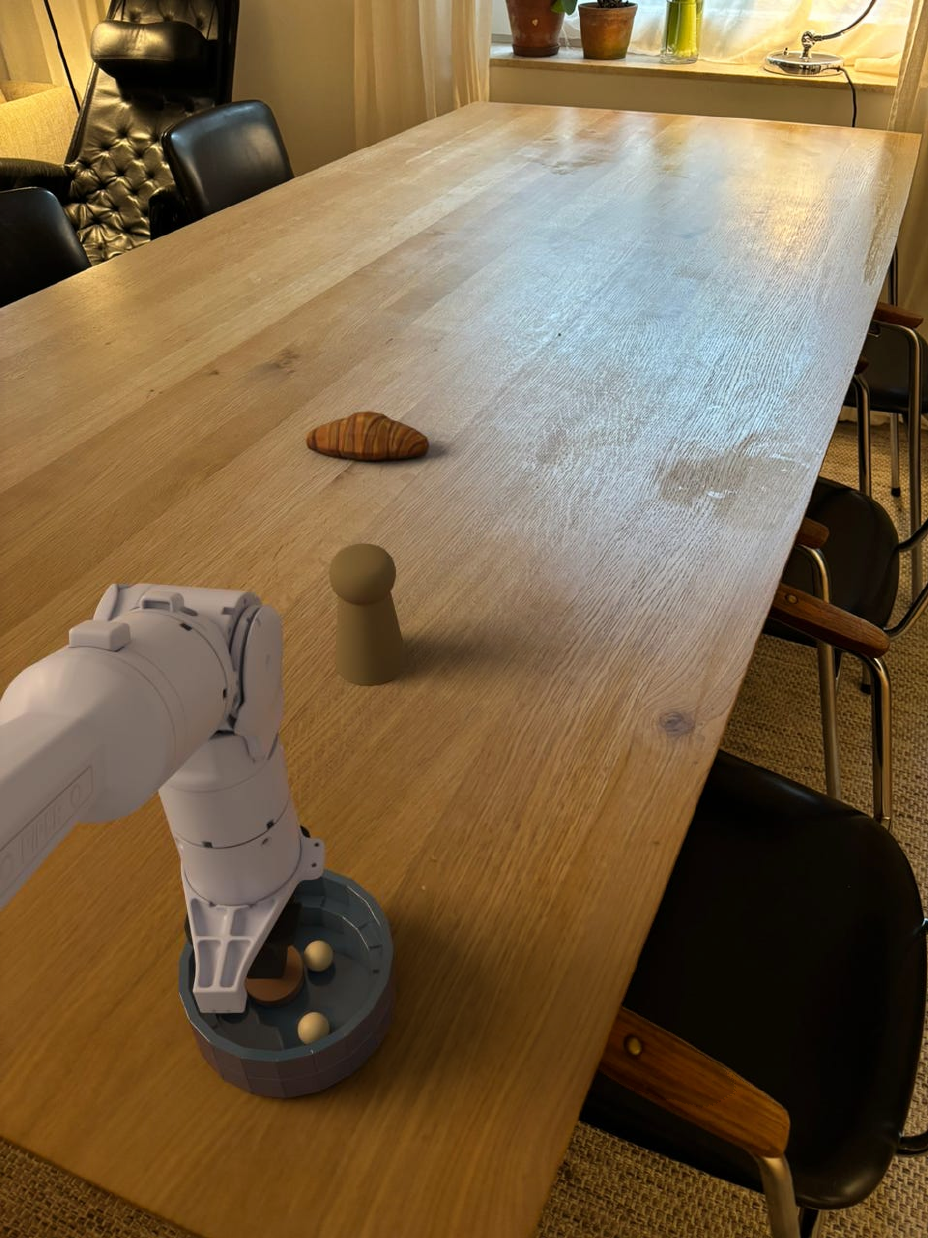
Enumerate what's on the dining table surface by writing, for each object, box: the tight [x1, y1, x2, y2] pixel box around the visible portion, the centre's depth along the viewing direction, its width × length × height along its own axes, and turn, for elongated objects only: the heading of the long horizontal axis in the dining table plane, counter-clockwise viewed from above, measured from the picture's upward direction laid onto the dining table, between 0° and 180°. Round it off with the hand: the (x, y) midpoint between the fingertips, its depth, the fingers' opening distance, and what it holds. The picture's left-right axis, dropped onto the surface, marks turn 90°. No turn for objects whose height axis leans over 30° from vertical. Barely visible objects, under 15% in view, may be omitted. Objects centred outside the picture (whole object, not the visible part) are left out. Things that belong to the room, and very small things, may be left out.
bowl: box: [177, 868, 399, 1099], centre depth 59 cm, size 12×12×5 cm
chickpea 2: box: [298, 1012, 329, 1045], centre depth 57 cm, size 2×2×2 cm
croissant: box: [305, 410, 430, 462], centre depth 106 cm, size 14×7×5 cm, turn 84°
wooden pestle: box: [244, 945, 304, 1008], centre depth 57 cm, size 4×4×9 cm
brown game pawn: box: [328, 542, 408, 687], centre depth 80 cm, size 6×6×11 cm
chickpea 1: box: [304, 941, 333, 972], centre depth 61 cm, size 2×2×2 cm
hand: (268, 954), depth 55 cm, fingers closed on wooden pestle, 2 cm apart
